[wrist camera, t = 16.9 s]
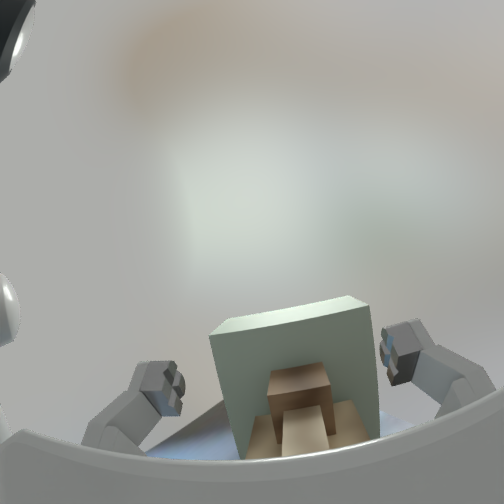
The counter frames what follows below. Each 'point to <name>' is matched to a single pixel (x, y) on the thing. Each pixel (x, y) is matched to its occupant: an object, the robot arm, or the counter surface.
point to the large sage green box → (297, 359)
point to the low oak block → (346, 434)
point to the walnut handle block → (301, 408)
